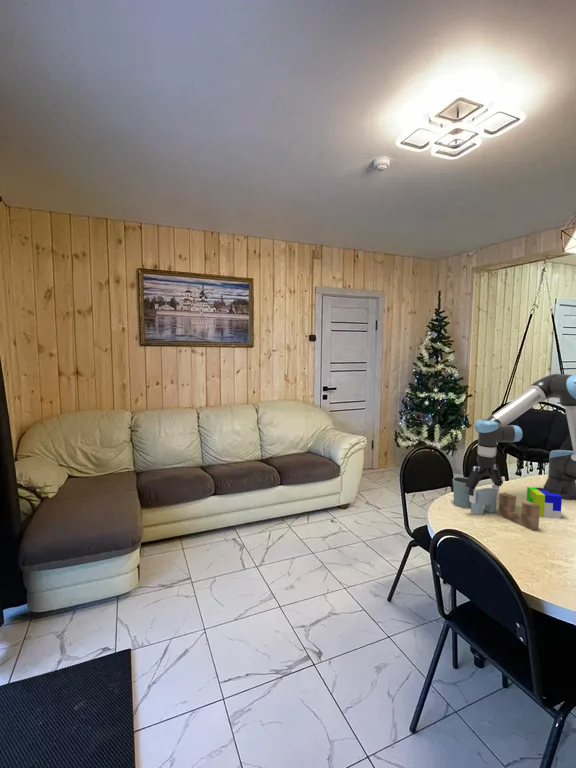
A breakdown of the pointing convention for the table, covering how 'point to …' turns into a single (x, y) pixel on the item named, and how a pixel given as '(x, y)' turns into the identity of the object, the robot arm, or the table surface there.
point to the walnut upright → (525, 518)
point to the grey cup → (461, 492)
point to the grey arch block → (484, 501)
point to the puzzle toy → (545, 501)
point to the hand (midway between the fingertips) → (483, 500)
